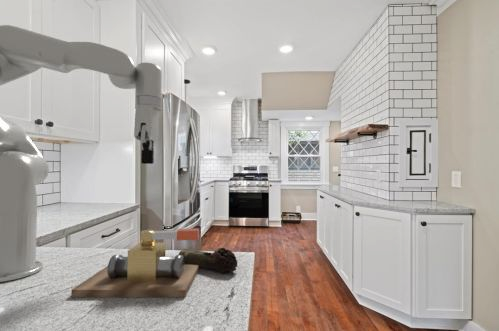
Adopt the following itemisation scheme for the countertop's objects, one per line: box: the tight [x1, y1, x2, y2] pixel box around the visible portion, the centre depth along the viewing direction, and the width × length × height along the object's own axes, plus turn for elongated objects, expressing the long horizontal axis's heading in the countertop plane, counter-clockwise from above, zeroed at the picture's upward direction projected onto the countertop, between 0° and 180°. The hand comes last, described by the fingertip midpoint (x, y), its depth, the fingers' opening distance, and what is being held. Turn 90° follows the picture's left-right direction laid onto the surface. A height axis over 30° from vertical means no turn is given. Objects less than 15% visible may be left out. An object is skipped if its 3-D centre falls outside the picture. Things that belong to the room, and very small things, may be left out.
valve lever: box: [140, 228, 200, 247], centre depth 63 cm, size 14×3×3 cm, turn 98°
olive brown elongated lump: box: [177, 247, 238, 275], centre depth 72 cm, size 18×7×6 cm, turn 64°
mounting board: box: [70, 265, 200, 298], centre depth 62 cm, size 24×15×2 cm, turn 90°
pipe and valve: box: [107, 241, 184, 282], centre depth 62 cm, size 16×7×7 cm, turn 90°
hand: (147, 163), depth 79 cm, fingers closed
